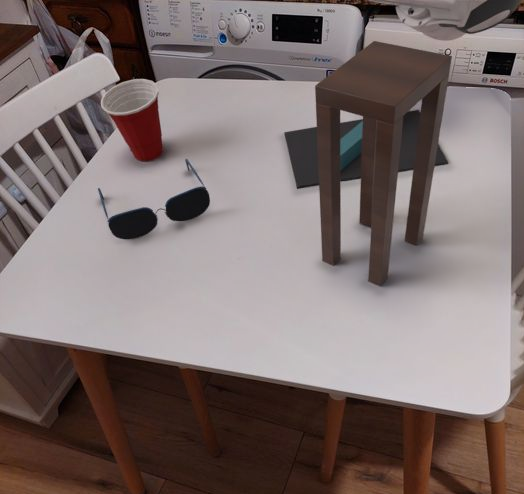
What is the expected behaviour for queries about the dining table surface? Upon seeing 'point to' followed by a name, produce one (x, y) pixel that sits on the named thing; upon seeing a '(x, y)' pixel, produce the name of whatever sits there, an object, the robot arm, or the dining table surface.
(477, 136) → the dining table surface
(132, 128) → the plastic cup
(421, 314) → the dining table surface
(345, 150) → the rail
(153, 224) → the sunglasses
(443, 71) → the stand
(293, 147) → the mat
